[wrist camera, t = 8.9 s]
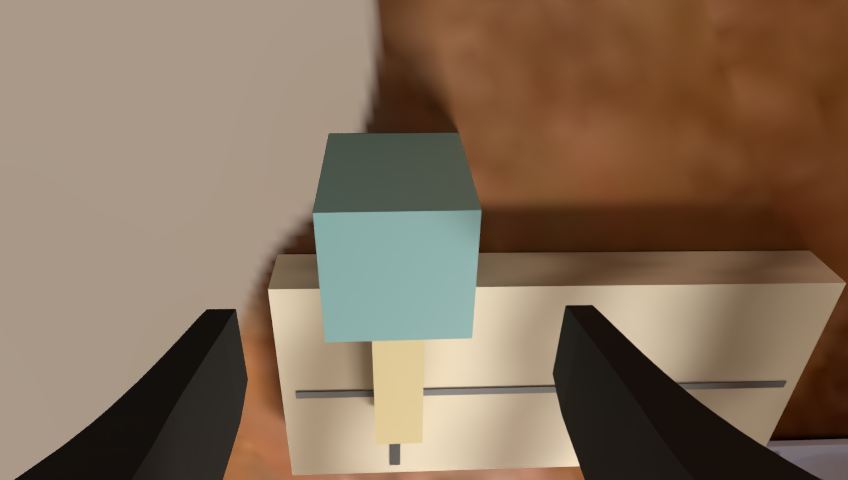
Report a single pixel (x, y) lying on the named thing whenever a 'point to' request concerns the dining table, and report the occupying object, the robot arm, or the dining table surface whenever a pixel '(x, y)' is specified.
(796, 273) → the board
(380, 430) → the teal cube mallet
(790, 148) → the dining table surface
